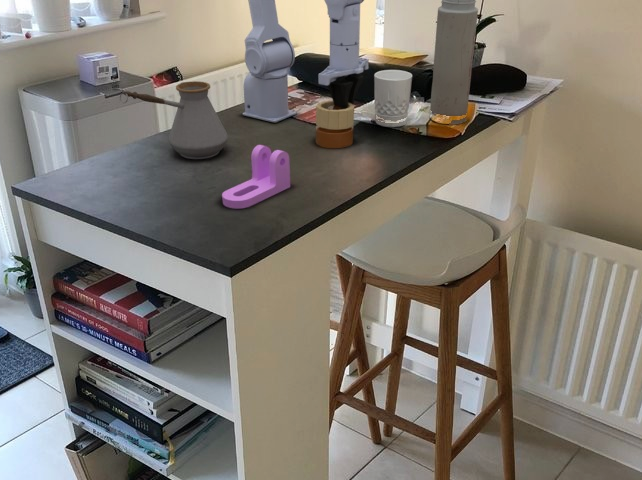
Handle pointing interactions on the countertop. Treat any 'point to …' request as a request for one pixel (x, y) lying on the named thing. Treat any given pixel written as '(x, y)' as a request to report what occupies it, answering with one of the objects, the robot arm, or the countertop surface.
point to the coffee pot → (192, 121)
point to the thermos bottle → (453, 58)
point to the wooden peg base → (334, 135)
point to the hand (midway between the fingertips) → (343, 113)
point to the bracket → (261, 179)
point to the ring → (334, 116)
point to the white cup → (392, 96)
